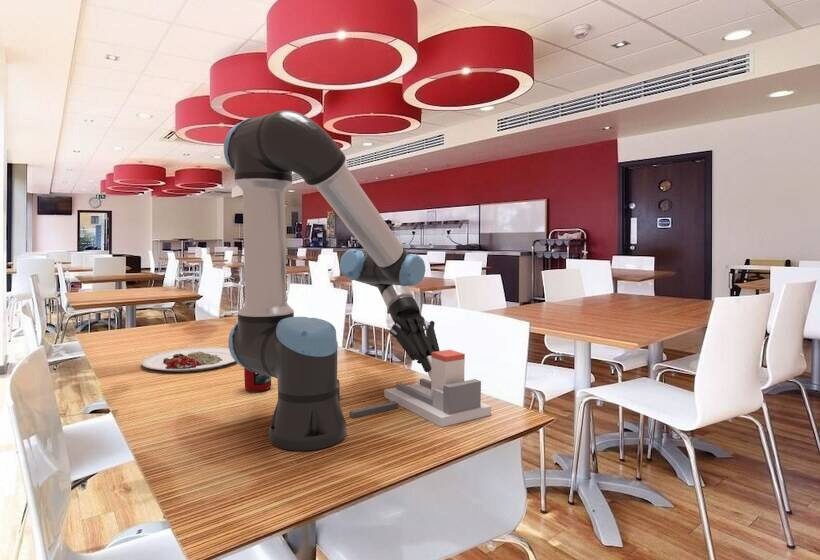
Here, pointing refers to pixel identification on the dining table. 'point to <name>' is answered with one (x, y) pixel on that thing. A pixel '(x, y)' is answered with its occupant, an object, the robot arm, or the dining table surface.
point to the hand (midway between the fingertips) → (438, 381)
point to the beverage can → (256, 381)
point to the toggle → (446, 368)
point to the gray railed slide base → (441, 401)
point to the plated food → (189, 359)
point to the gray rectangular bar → (373, 409)
